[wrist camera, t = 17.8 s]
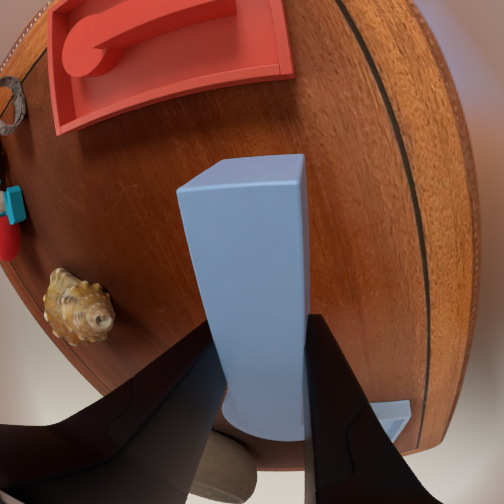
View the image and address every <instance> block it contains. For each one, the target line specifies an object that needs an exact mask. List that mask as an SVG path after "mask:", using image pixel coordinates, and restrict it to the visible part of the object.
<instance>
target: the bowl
mask: <svg viewBox="0 0 504 504" xmlns="http://www.w3.org/2000/svg"><path fill="white" fill-rule="evenodd" d="M256 483H257V471H256V467H255V464H254V461H253V459H252V457H251V455H250V454H249V452H248V451H247V450H246V449H245V448H244V447H243V446H242V445H240V444H239V443H238V442H236V441H234V440H233V439H231V438H229V437H227V436H225V435H222V434H220V433H218V432H216V431H213V430H211V432H210V435H209V438H208V441H207V444H206V447H205V449H204V452H203V455H202V458H201V461H200V464H199V466H198V469H197V472H196V475H195V477H194V480H193V483H192V486H191V488H190V491H189V493H191V494H194V495H197V496H200V497H203V498H207V499H210V500H214V501H220V502H224V503H232V504H242V503H244V502H246V501H247V500H248V499H249V498H250V497H251V495H252V494H253V492H254V490H255V486H256Z"/></svg>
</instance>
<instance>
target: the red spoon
mask: <svg viewBox="0 0 504 504" xmlns="http://www.w3.org/2000/svg"><path fill="white" fill-rule="evenodd" d="M236 14H237V11H236V5H235V0H127V1H125V2H123V3H121V4H119V5H117V6H115V7H113V8H112V9H110V10H108V11H106V12H104V13H102V14H101V15H97V14H95V15H90V16H87V17H85V18H83V19H82V20H80V21H79V22H78V23H77V24H76V25H75V26H74V27H73V28H72V30H71V31H70V33H69V34H68V36H67V38H66V41H65V43H64V47H63V51H62V62H63V66H64V69H65V71H66V72H67V73H68V74H69V75H70V76H72V77H77V78H79V77H98V76H101V75H104V74H105V73H107V72H108V71H110V70H111V69H112V68H113V67H114V66H115V65H116V63H117V62H118V61H119V59H120V57H121V56H122V54H123V51H124V49H126V48H128V47H131V46H133V45H136V44H138V43H140V42H143V41H146V40H148V39H151V38H153V37H156V36H159V35H162V34H165V33H168V32H171V31H174V30H177V29H180V28H183V27H187V26H190V25H194V24H197V23H201V22H205V21H209V20H213V19H217V18H222V17H226V16H231V15H236Z"/></svg>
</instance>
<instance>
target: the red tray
mask: <svg viewBox="0 0 504 504" xmlns="http://www.w3.org/2000/svg"><path fill="white" fill-rule="evenodd" d="M125 1H127V0H61V1H60V2H58V3H57V4H56V5H54V6H53V7H52V8H51V9H49V10H48V25H47V49H48V70H49V83H50V93H51V101H52V109H53V116H54V122H55V128H56V134H57V136H61V135H64V134H68V133H71V132H75V131H78V130H81V129H83V128H86V127H88V126H91V125H93V124H96V123H98V122H101V121H103V120H106V119H109V118H111V117H114V116H117V115H120V114H123V113H126V112H129V111H132V110H135V109H138V108H141V107H145V106H148V105H151V104H155V103H158V102H162V101H166V100H169V99H173V98H177V97H181V96H186V95H190V94H194V93H199V92H204V91H209V90H214V89H219V88H225V87H230V86H237V85H243V84H250V83H258V82H266V81H276V80H287V79H296V76H295V68H294V61H293V54H292V48H291V41H290V35H289V29H288V23H287V17H286V12H285V6H284V1H283V0H235V5H236V11H237V14H236V15H231V16H226V17H222V18H217V19H213V20H209V21H205V22H201V23H197V24H194V25H190V26H187V27H183V28H180V29H177V30H174V31H171V32H168V33H165V34H162V35H159V36H156V37H153V38H151V39H148V40H146V41H143V42H140V43H138V44H136V45H133V46H131V47H128V48H126V49H124V51H123V54H122V56H121V57H120V59H119V61H118V62H117V63H116V65H115V66H114V67H113V68H112V69H111V70H110V71H108V72H107V73H105V74H104V75H101V76H98V77H79V78H77V77H72V76H70V75H69V74H68V73H67V72H66V71H65V69H64V66H63V62H62V51H63V47H64V43H65V41H66V38H67V36H68V34H69V33H70V31H71V30H72V28H73V27H74V26H75V25H76V24H77V23H78V22H79V21H80V20H82V19H83V18H85V17H87V16H90V15H95V14H97V15H101V14H102V13H104V12H106V11H108V10H110V9H112V8H113V7H115V6H117V5H119V4H121V3H123V2H125Z"/></svg>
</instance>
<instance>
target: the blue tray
mask: <svg viewBox="0 0 504 504" xmlns="http://www.w3.org/2000/svg"><path fill="white" fill-rule="evenodd" d="M370 405H371V407H372V409H373V411H374V413H375V415H376V416H377V418H378V420H379V422H380V423H381V425H382V427H383V429H384V431H385V432H386V434H387V435H388V437H389V438H390V440H391V441H392V443H393V442H394V441H395V439H396V438H397V437H398V435H399V434H400V432H401V431H402V430H403V428H404V427H405V425H406V424H407V422H408V421H409V419H410V418H411V410H410V403H409V400H401V401H391V402H378V403H370Z"/></svg>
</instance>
